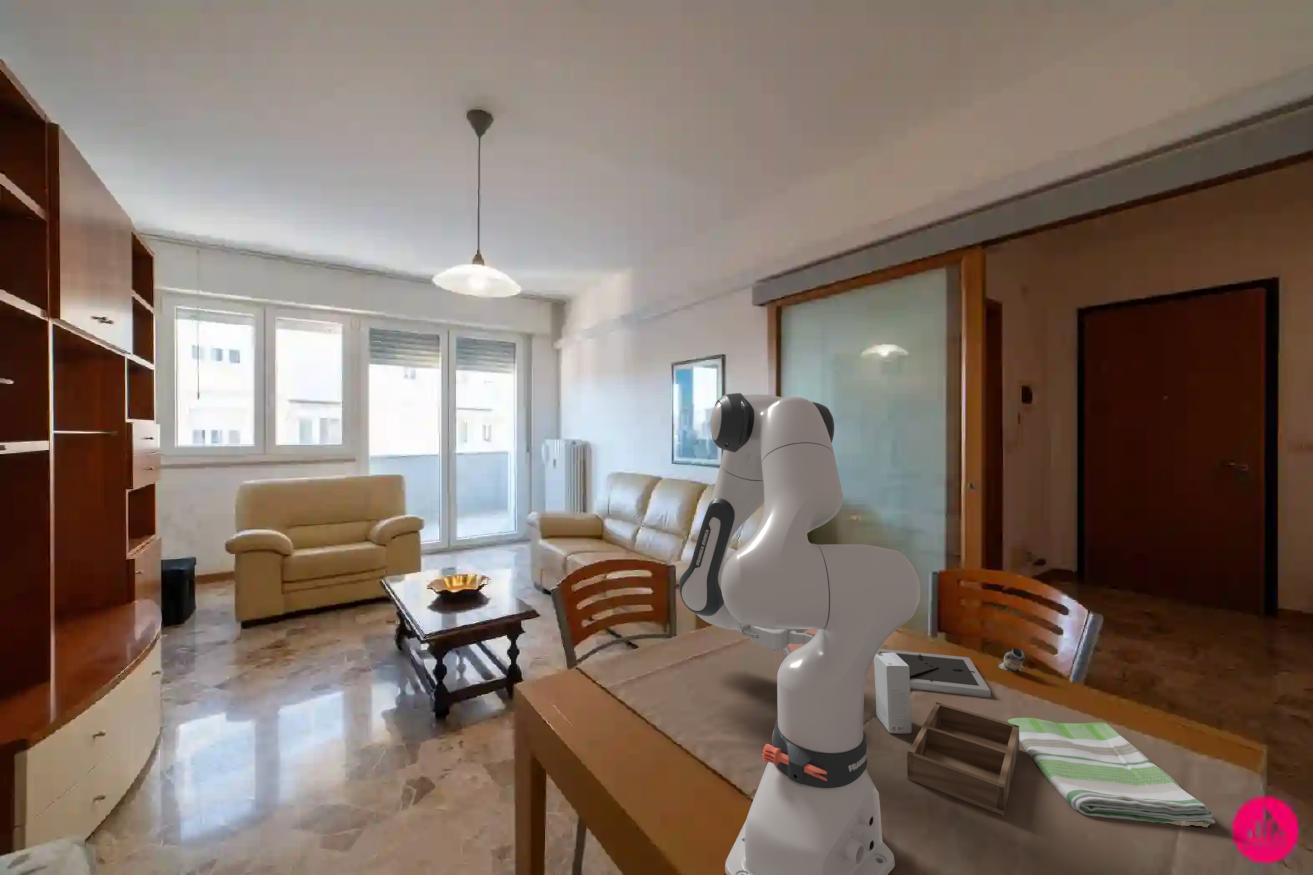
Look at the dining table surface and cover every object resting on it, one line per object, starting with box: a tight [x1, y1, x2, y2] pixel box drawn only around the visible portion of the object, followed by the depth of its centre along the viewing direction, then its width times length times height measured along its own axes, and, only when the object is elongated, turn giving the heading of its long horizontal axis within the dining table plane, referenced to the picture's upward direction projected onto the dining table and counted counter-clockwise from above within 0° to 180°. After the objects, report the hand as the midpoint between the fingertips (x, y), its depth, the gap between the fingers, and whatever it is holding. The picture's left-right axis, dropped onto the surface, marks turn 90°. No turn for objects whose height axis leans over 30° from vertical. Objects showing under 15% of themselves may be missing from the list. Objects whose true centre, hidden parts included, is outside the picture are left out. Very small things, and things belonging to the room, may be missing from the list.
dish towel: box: [1006, 717, 1216, 825], centre depth 84 cm, size 17×23×4 cm
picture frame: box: [872, 648, 992, 698], centre depth 117 cm, size 16×3×21 cm
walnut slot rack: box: [906, 701, 1020, 816], centre depth 86 cm, size 19×13×4 cm, turn 140°
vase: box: [997, 648, 1026, 672], centre depth 116 cm, size 5×5×6 cm
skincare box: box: [873, 653, 913, 734], centre depth 97 cm, size 6×4×12 cm
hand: (824, 632), depth 105 cm, fingers open, 8 cm apart
